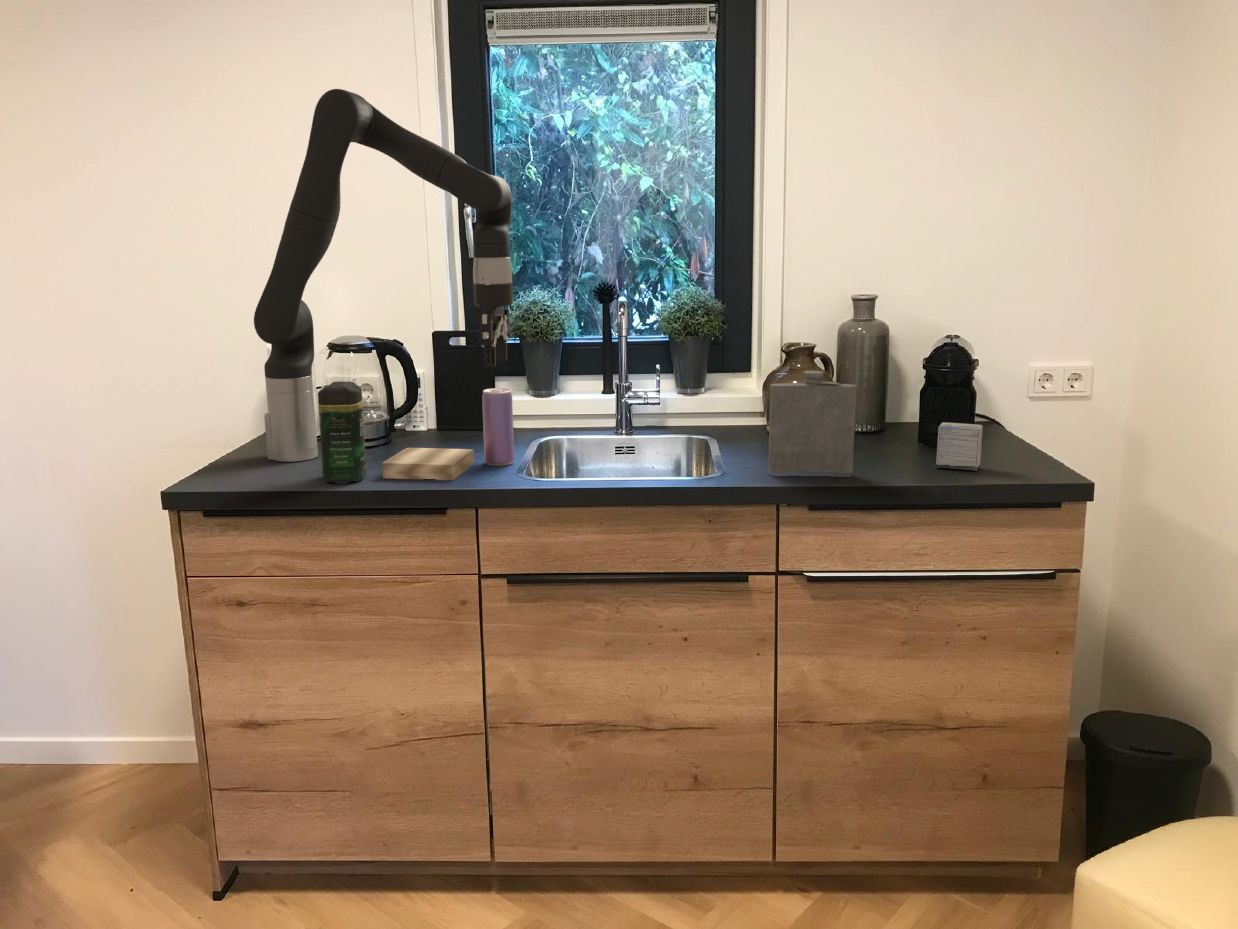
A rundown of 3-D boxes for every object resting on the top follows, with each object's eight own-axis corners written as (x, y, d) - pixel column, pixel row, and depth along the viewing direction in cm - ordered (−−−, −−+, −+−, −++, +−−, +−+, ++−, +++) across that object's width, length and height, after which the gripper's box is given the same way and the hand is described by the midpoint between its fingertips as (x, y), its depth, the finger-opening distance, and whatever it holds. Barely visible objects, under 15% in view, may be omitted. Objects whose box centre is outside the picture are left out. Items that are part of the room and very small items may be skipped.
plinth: (382, 478, 195) (381, 462, 194) (408, 461, 208) (407, 447, 208) (453, 480, 193) (452, 465, 192) (474, 463, 206) (473, 449, 206)
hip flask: (768, 476, 195) (771, 372, 190) (767, 471, 199) (770, 369, 194) (853, 478, 193) (858, 373, 188) (850, 473, 197) (855, 370, 192)
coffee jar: (363, 484, 191) (356, 385, 187) (320, 485, 190) (312, 386, 186) (370, 472, 200) (364, 378, 196) (329, 473, 199) (322, 379, 195)
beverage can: (509, 467, 203) (506, 393, 200) (480, 466, 204) (477, 392, 201) (517, 460, 209) (515, 388, 206) (490, 459, 210) (487, 387, 207)
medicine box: (980, 467, 201) (983, 424, 199) (977, 472, 197) (981, 428, 195) (938, 464, 204) (941, 421, 202) (935, 468, 200) (938, 425, 198)
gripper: (484, 279, 206) (487, 359, 209) (463, 283, 192) (467, 368, 196) (520, 279, 205) (522, 359, 208) (502, 282, 191) (505, 368, 195)
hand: (496, 363), depth 202 cm, fingers open, 8 cm apart
